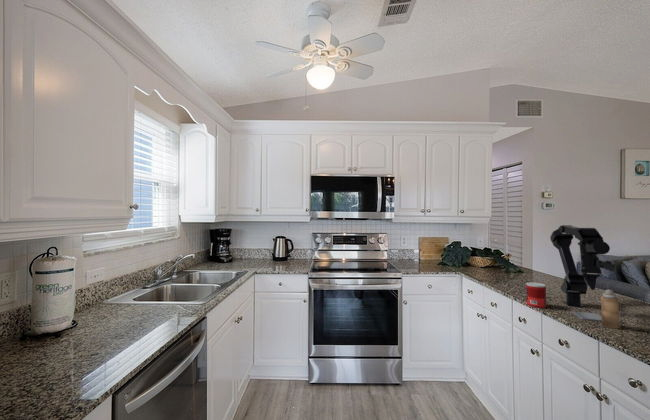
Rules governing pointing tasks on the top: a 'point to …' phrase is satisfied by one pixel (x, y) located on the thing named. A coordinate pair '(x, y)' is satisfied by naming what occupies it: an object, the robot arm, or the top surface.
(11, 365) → the top surface
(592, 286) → the robot arm
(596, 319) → the plate
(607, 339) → the top surface
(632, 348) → the top surface
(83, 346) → the top surface
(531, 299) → the canned food
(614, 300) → the pepper mill
